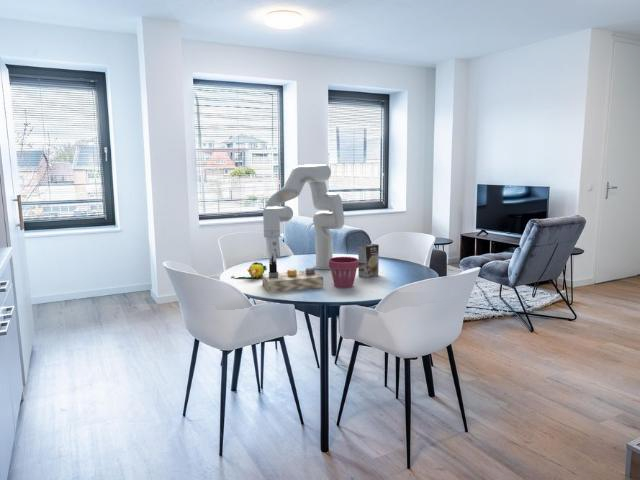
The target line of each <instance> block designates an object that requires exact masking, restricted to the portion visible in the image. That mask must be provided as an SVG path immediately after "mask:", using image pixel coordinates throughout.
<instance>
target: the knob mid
mask: <svg viewBox="0 0 640 480" xmlns="http://www.w3.org/2000/svg"><path fill="white" fill-rule="evenodd" d="M297 271H298V270H297V269H287V274H288V276H290V277H291V276H297Z"/></svg>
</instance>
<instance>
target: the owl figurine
mask: <svg viewBox="0 0 640 480" xmlns="http://www.w3.org/2000/svg"><path fill="white" fill-rule="evenodd" d="M267 269H268V268H267V265H264V264H263V263H262V262H257V261H255V262H254V263H252V264H251V265H250V266H249V268H248V269H247V272H248V273H249V275H250V276H251V277H247V276H244V277H245V278H244V279H248V278H249V279H254V278H255V277H256V278H257V279H258V278H259V279H262V277H261V276H262V274H265V271H268V270H267ZM234 276H235V275H231V278H233V277H234Z"/></svg>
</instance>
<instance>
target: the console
mask: <svg viewBox="0 0 640 480" xmlns="http://www.w3.org/2000/svg"><path fill="white" fill-rule="evenodd" d="M261 279H262V286H263V285H264V286H265V287H264V286H263V287H264V288H265V290H266V291H267V290H268V291H267V292H268V293H277V292H276V291H279V292H286V291H288V290H289V291H297V290H299V291H300V290H308V289H317V288H318V289H319V288H324V276H323V275H321V274H320V273H319V272H317V271H316V270H315V274H313V275H306V270H297V276H291V277H290V276H288V274H287V272H286V271H285V272H278V278H269V273H263V274H262V278H261Z"/></svg>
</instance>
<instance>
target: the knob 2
mask: <svg viewBox="0 0 640 480" xmlns="http://www.w3.org/2000/svg"><path fill="white" fill-rule="evenodd" d="M305 271H306V275H313V274H315V271H316V269H315V268H313V267H308V268H305Z"/></svg>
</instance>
